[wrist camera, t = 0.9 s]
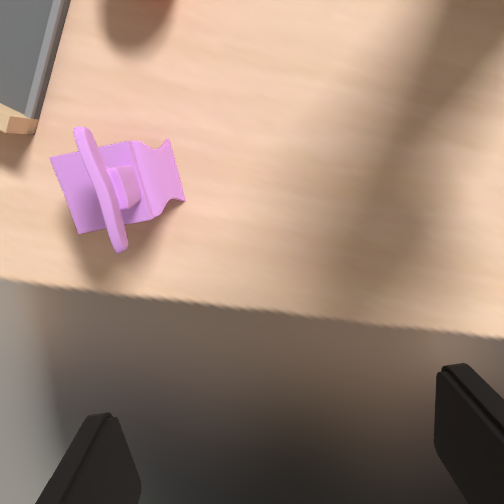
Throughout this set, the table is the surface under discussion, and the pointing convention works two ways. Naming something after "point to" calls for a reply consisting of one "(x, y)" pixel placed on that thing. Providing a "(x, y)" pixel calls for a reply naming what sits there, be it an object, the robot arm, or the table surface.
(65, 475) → the robot arm
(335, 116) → the table surface
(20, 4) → the lane
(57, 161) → the toy chair
